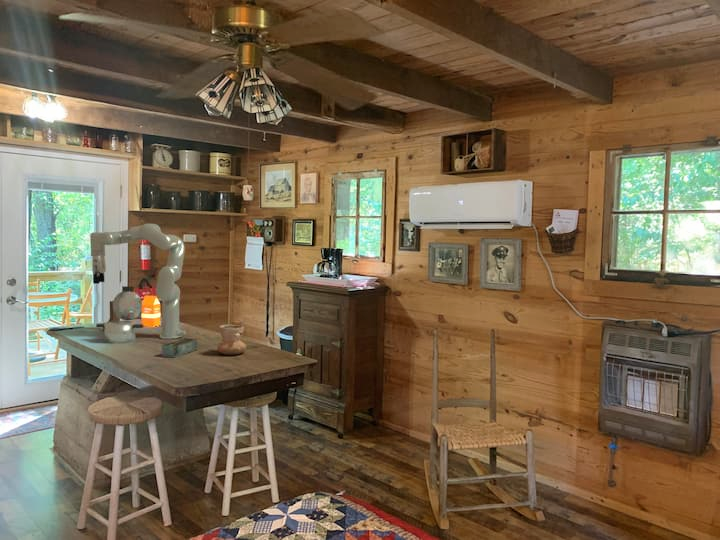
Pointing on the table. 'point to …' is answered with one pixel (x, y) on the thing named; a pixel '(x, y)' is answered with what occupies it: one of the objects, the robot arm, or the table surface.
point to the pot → (120, 331)
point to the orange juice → (151, 311)
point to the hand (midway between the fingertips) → (98, 282)
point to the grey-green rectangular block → (179, 347)
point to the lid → (127, 304)
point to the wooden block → (112, 314)
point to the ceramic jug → (231, 340)
